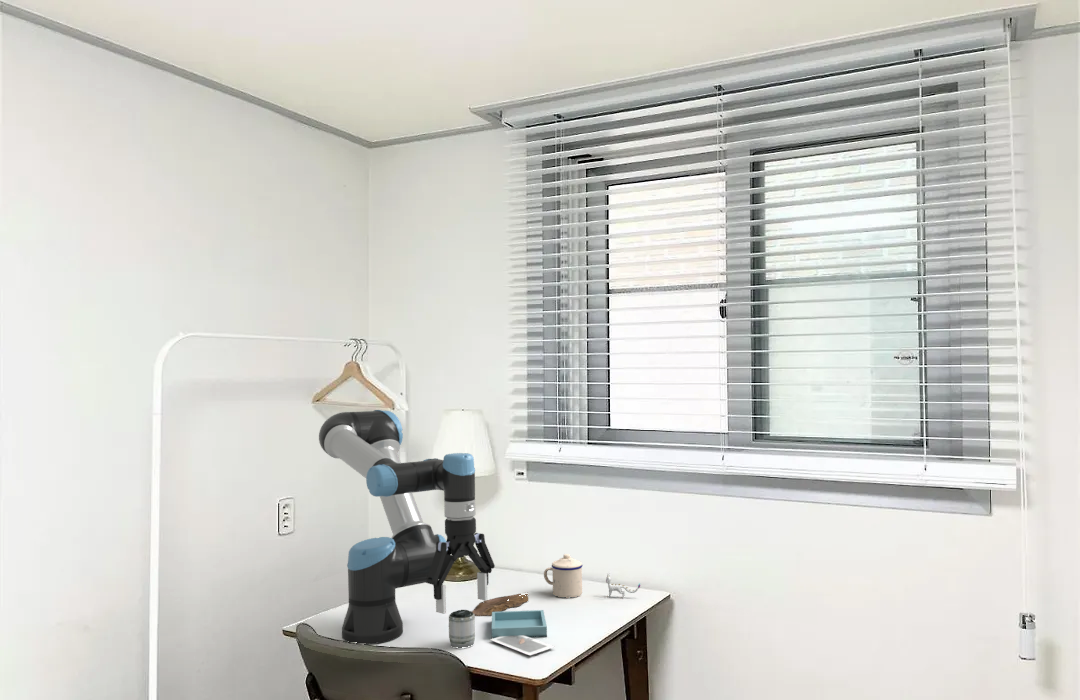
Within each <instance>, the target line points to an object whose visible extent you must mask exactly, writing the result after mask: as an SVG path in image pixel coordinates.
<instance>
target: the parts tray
mask: <svg viewBox="0 0 1080 700" xmlns="http://www.w3.org/2000/svg"><path fill="white" fill-rule="evenodd" d="M518 635H524V636H527V637H530V638H546V637H548V628H547V622H546V616H545V612H544V609H537V610H534V609H533V610H510V611H507V610H504V611H501V612H492V616H491V639H492V638H497V637H500V636H518Z"/></svg>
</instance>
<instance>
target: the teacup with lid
mask: <svg viewBox="0 0 1080 700" xmlns="http://www.w3.org/2000/svg"><path fill="white" fill-rule="evenodd" d="M582 567H583V562H581V561H580V560H578V559H575V558H573V557H572V556H571V555H570V553H564V554H563V557H560V558H559V559H557V560H555V561H553V562H552V563H551V567H548V568H546V569H544V571H543V577H544V578H543V579H544V580H545V582H546V584H548V585H551V586H552V594H553V596H554V595H555V596H554V597H556V596H558V597H557V598H560V597H566V598H565V599H570V598H569V597H575V598H578V597H581V596H582V595H581V594H583V568H582ZM548 571H552V581H551V580H550V579H549V577H548ZM577 596H578V597H577Z"/></svg>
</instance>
